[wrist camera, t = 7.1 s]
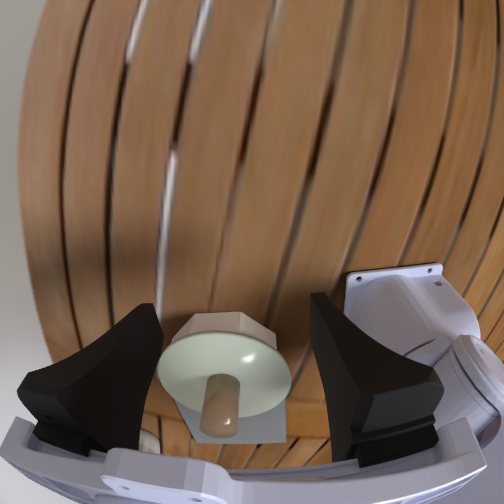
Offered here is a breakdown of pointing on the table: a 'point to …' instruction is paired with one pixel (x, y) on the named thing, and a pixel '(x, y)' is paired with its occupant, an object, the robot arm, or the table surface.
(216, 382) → the lid
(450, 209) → the table surface
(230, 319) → the bowl
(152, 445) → the cupcake
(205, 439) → the mat
